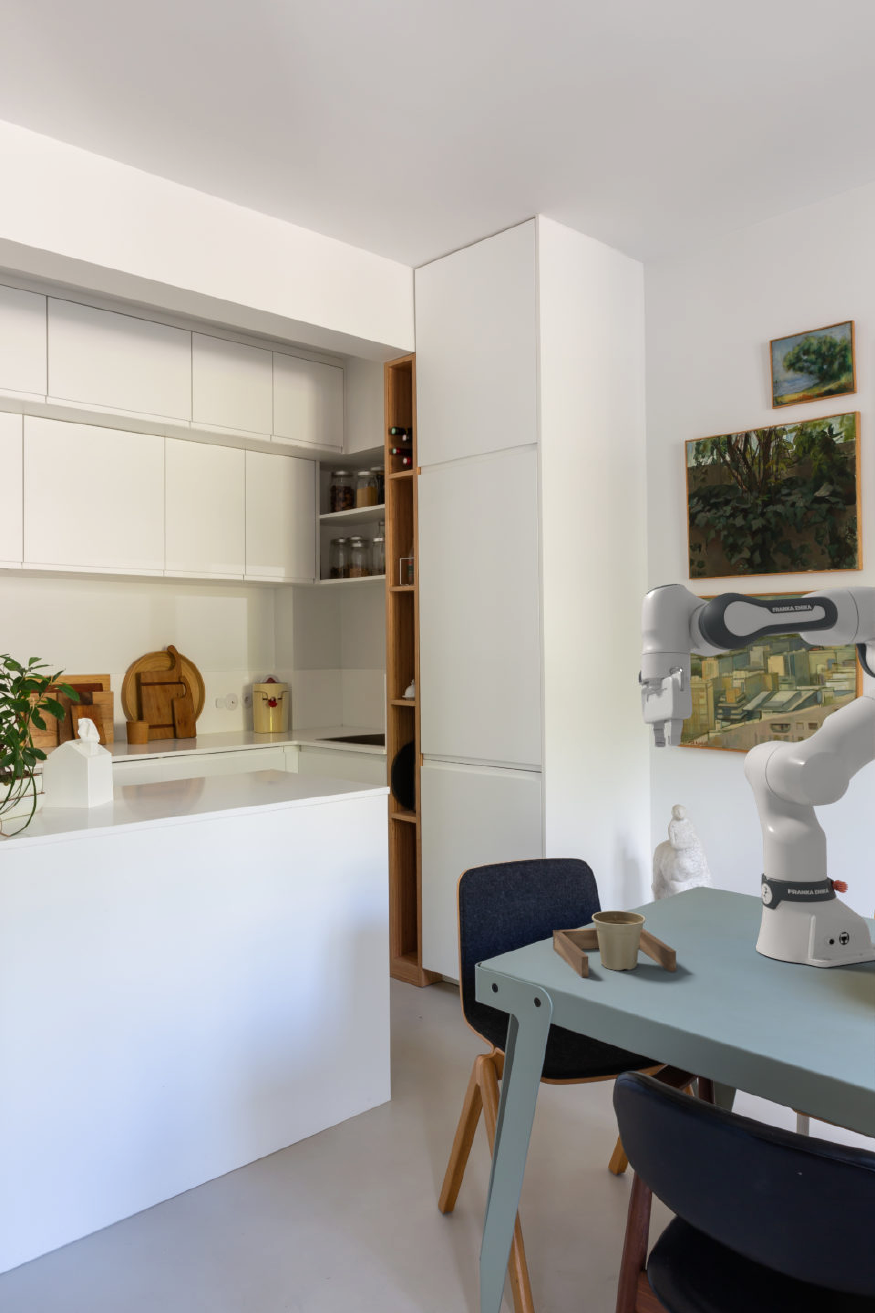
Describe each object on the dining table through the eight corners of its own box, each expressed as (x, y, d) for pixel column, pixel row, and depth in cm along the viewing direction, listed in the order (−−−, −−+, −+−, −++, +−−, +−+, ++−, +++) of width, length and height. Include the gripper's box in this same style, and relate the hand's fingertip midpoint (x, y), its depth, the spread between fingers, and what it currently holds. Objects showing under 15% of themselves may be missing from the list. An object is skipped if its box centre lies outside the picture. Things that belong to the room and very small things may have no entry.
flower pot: (646, 975, 160) (645, 925, 160) (591, 972, 162) (590, 923, 162) (645, 959, 169) (644, 911, 169) (593, 956, 171) (592, 909, 171)
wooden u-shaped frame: (639, 943, 179) (638, 925, 179) (676, 971, 162) (675, 951, 162) (553, 949, 176) (553, 930, 176) (581, 977, 159) (581, 957, 159)
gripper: (700, 665, 161) (702, 744, 159) (667, 677, 181) (668, 748, 180) (664, 664, 161) (665, 744, 159) (635, 676, 181) (636, 747, 179)
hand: (667, 746), depth 169 cm, fingers open, 8 cm apart
